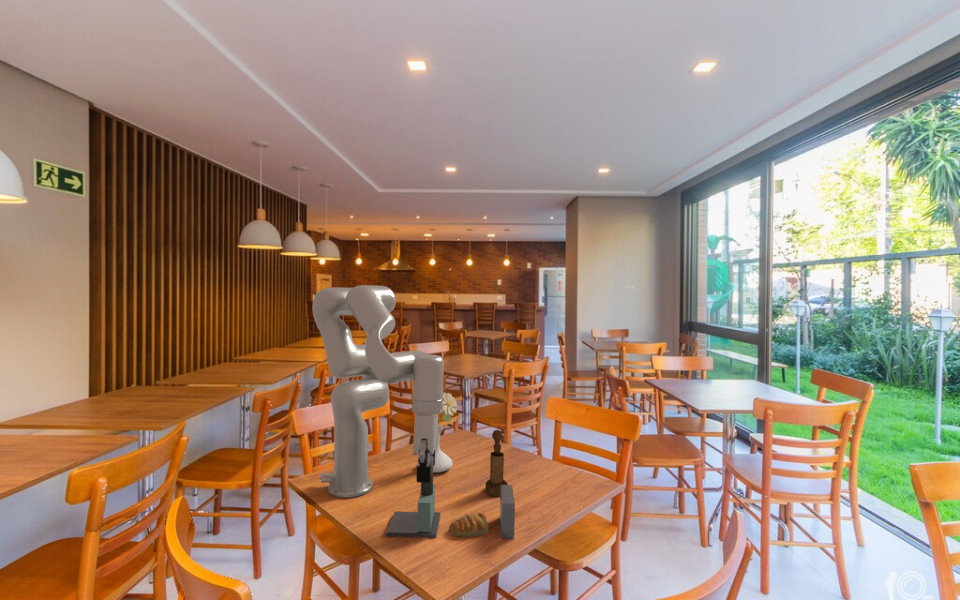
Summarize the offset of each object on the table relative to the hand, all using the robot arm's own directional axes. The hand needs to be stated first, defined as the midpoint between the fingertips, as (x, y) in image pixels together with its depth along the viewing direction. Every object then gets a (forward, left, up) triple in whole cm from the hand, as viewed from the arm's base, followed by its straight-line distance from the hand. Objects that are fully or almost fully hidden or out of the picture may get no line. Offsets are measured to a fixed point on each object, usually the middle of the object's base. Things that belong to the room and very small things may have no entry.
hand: (426, 473), depth 109 cm
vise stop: (+20, 0, -13) cm, 24 cm away
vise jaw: (0, 0, -12) cm, 12 cm away
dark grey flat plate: (-3, 0, -13) cm, 13 cm away
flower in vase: (-1, +36, -13) cm, 38 cm away
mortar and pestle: (+18, +20, -13) cm, 30 cm away
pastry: (+11, -2, -14) cm, 18 cm away
